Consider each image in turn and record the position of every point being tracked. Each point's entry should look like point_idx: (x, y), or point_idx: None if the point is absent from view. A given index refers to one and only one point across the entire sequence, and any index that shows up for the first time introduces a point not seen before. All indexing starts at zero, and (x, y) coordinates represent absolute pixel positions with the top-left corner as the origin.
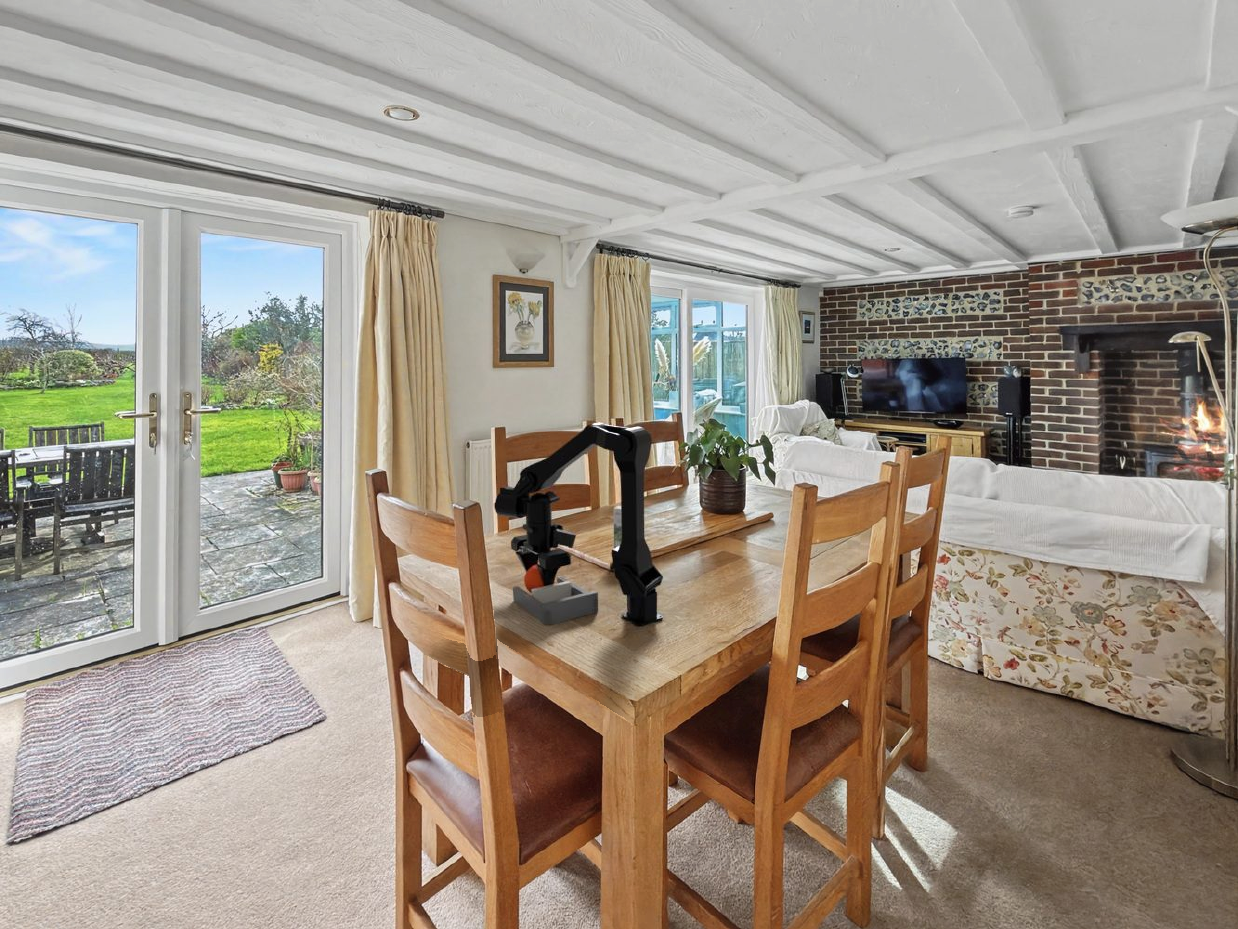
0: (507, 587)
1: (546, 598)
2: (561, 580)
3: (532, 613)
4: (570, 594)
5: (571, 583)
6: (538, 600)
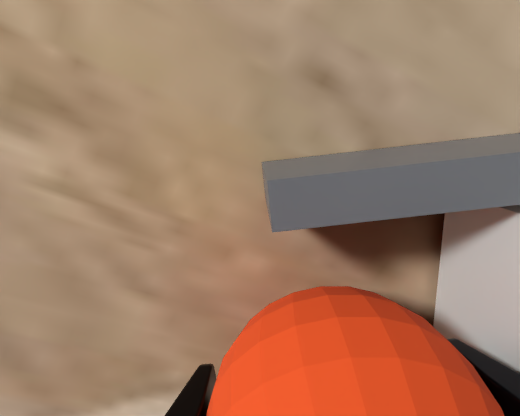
0: (93, 408)
1: None
2: (359, 219)
3: None
4: None
5: (516, 173)
6: None
